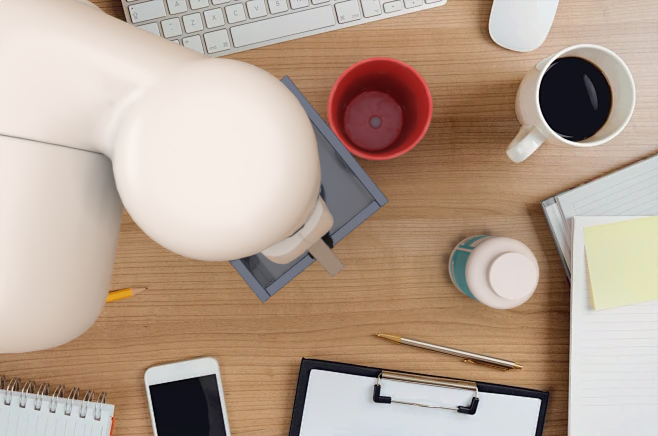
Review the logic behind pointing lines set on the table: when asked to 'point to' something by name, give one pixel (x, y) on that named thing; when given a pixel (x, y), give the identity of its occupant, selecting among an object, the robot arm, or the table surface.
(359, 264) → the table surface
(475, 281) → the pill bottle
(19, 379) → the table surface
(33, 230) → the robot arm
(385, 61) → the flower pot
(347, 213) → the open box
